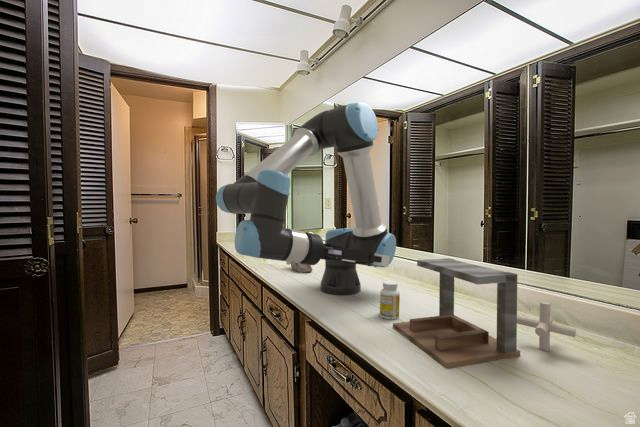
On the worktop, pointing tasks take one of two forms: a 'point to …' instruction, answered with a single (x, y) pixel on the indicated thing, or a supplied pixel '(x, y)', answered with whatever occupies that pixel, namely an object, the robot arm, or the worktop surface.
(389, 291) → the supplement bottle
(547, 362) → the worktop surface
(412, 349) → the worktop surface
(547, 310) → the pipe connector
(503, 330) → the keeper holder
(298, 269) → the pumice stone
